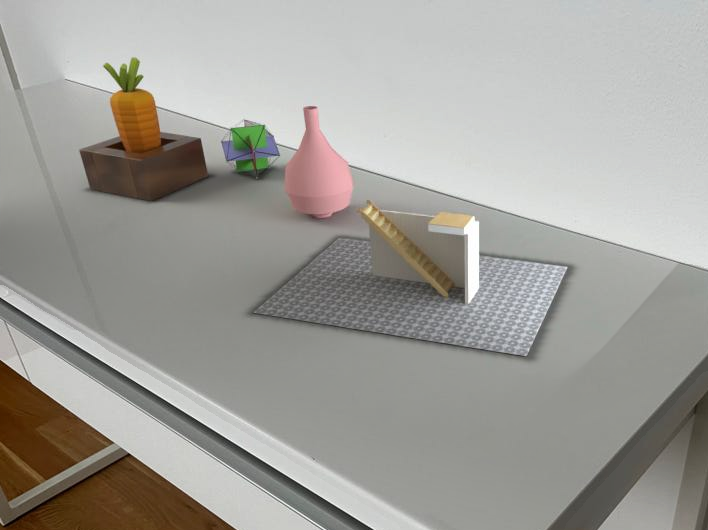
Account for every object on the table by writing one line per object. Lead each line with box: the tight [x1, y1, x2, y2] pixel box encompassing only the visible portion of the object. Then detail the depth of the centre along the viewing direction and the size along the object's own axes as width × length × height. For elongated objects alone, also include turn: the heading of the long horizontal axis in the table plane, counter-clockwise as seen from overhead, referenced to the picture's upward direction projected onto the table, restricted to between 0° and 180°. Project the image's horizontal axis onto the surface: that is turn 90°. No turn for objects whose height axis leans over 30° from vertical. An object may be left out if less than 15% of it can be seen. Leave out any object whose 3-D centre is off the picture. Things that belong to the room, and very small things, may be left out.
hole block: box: [78, 131, 209, 202], centre depth 94 cm, size 10×10×5 cm
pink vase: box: [284, 105, 355, 219], centre depth 83 cm, size 8×8×12 cm
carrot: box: [102, 56, 161, 154], centre depth 91 cm, size 5×5×15 cm
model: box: [356, 199, 481, 304], centre depth 69 cm, size 3×11×8 cm, turn 73°
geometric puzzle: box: [220, 118, 282, 179], centre depth 97 cm, size 7×7×8 cm
